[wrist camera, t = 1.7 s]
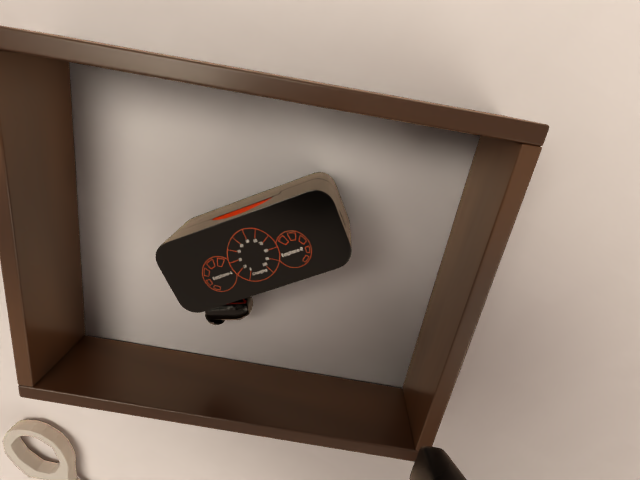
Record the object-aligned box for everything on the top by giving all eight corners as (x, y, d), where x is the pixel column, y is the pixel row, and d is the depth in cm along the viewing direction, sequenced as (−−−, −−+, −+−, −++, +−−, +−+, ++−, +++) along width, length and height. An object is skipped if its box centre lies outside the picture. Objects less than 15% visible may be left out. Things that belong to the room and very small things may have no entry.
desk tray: (411, 399, 19) (425, 464, 16) (74, 343, 19) (18, 397, 16) (503, 115, 14) (551, 125, 11) (51, 33, 14) (-36, 19, 11)
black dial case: (166, 224, 16) (128, 256, 13) (329, 164, 15) (327, 184, 12) (216, 316, 18) (191, 364, 15) (368, 268, 17) (374, 309, 14)
